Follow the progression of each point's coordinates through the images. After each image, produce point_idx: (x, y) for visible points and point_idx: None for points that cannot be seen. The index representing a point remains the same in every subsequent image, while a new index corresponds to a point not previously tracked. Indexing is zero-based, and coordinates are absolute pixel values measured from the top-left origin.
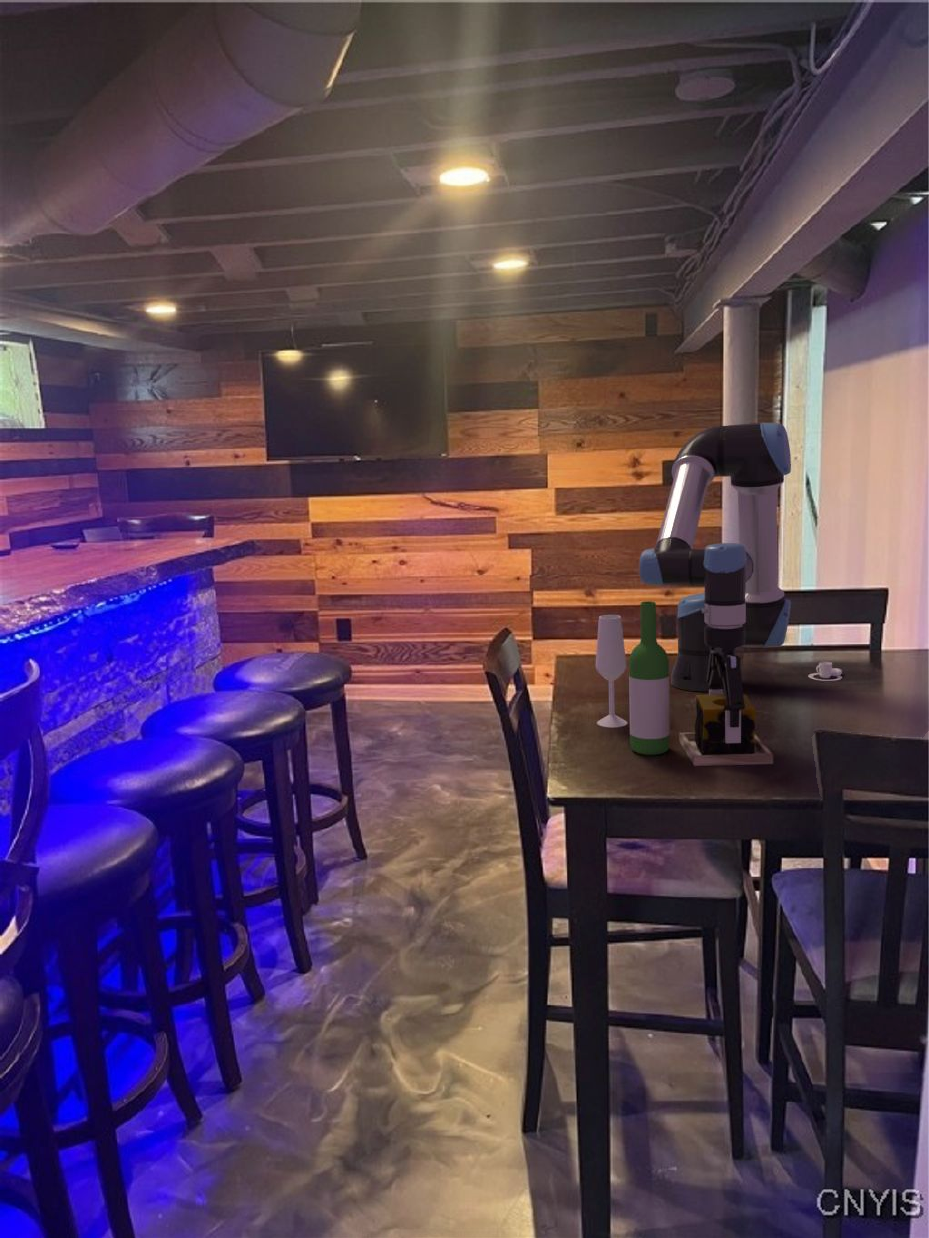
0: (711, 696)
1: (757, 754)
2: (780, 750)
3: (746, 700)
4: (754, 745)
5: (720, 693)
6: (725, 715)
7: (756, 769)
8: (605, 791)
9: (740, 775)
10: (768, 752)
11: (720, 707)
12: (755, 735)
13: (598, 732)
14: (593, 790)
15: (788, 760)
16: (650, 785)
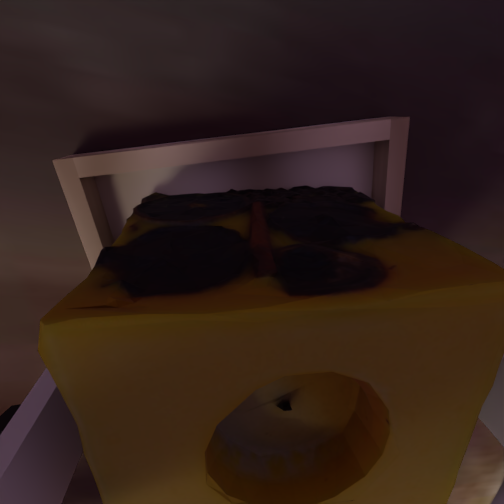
0: None
1: (395, 184)
2: (221, 43)
3: (260, 332)
4: (373, 199)
5: (18, 478)
6: (498, 432)
7: (431, 188)
8: (482, 486)
9: (470, 245)
10: (379, 133)
11: (423, 479)
12: (135, 154)
13: None
14: (472, 500)
15: (355, 34)
16: (476, 430)
